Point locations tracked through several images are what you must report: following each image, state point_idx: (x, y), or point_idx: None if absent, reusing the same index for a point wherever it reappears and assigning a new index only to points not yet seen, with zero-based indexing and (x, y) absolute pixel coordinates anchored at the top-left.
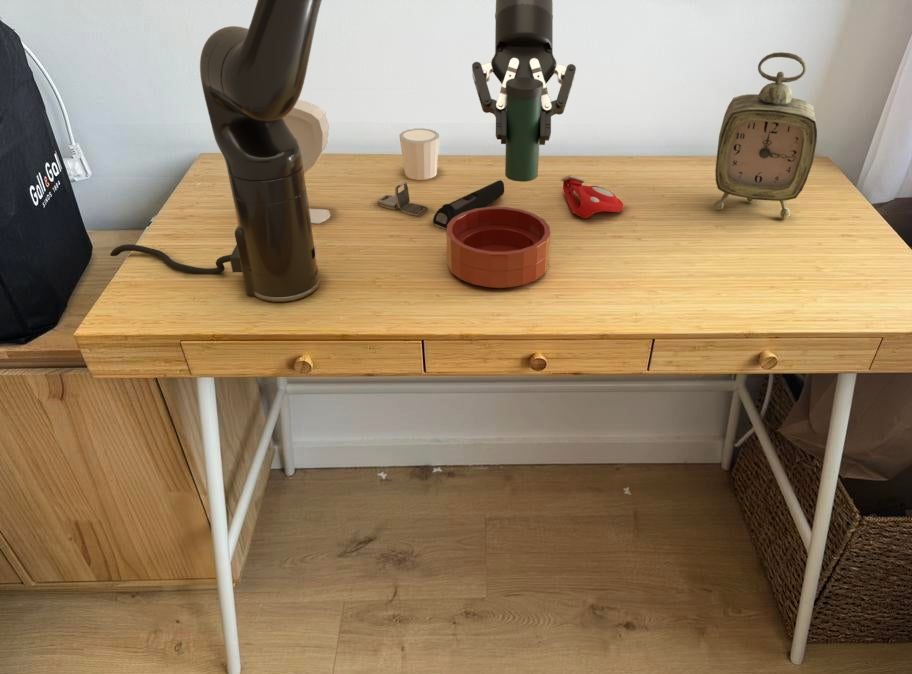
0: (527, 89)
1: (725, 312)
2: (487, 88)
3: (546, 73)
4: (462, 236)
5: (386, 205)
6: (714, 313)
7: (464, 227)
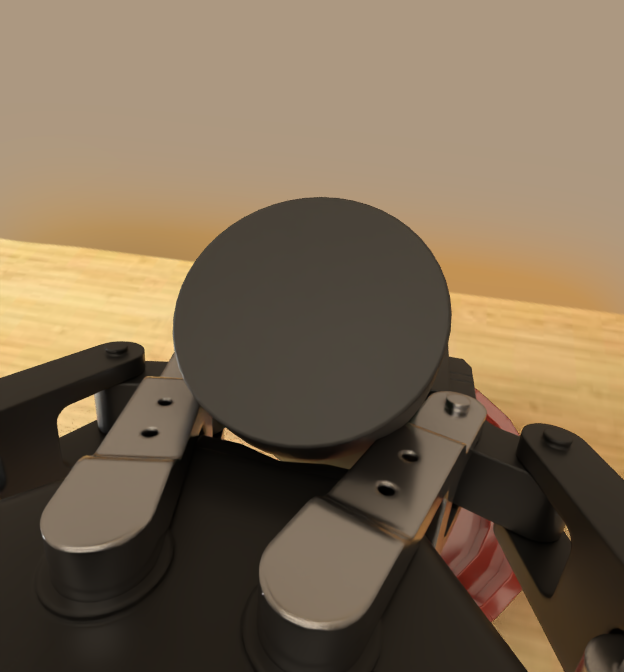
0: (321, 199)
1: (86, 286)
2: (574, 492)
3: (56, 482)
4: (486, 562)
5: None
6: (102, 286)
7: (481, 593)
